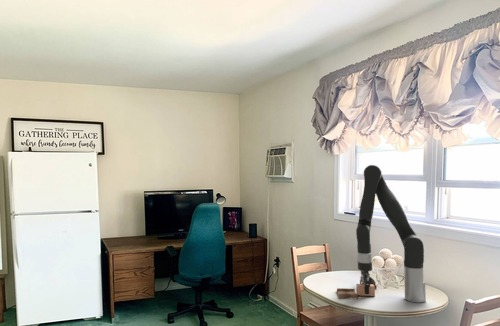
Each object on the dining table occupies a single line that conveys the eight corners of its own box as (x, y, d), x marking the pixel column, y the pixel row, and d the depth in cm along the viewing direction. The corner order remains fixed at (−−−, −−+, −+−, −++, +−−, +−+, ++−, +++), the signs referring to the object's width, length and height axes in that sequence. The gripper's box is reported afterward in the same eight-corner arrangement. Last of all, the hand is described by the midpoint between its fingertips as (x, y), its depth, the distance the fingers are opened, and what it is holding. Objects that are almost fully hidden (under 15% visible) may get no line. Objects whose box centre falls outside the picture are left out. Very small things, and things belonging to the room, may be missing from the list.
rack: (354, 292, 199) (354, 288, 199) (357, 298, 189) (357, 294, 189) (336, 291, 200) (336, 288, 200) (339, 298, 190) (339, 294, 190)
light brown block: (373, 293, 194) (373, 284, 194) (374, 295, 191) (374, 286, 191) (356, 292, 195) (356, 283, 195) (357, 295, 192) (357, 285, 192)
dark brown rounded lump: (381, 291, 201) (378, 280, 198) (368, 299, 199) (364, 289, 197) (368, 279, 212) (364, 269, 209) (355, 288, 210) (351, 277, 208)
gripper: (374, 264, 186) (376, 297, 186) (369, 257, 200) (370, 288, 200) (360, 264, 187) (361, 297, 187) (355, 257, 201) (356, 288, 201)
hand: (366, 292), depth 193 cm, fingers closed on light brown block, 3 cm apart
